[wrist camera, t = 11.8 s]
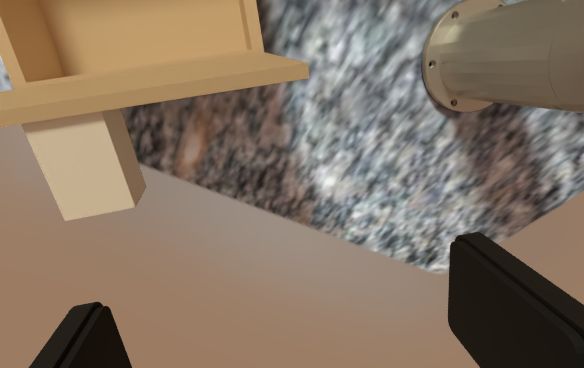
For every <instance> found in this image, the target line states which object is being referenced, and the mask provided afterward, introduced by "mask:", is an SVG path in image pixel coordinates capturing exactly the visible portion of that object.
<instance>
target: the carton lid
mask: <svg viewBox="0 0 584 368" xmlns="http://www.w3.org/2000/svg"><path fill="white" fill-rule="evenodd" d="M307 78H309V70H308V63H306V62H302V61H298V60H293V59H289V58H285V57H281V56H277V55H273V54H269V53H258V54H251V55H245V56H238V57H231V58H224V59H218V60H211V61H204V62H197V63H191V64H184V65H177V66H170V67H164V68H157V69H150V70H143V71H137V72H130V73H123V74H116V75H110V76H103V77H96V78H89V79H83V80H76V81H69V82H62V83H56V84H49V85H42V86H35V87H29V88H22V89H15V90H8V91H4V92H0V127H5V126H11V125H18V124H21V125H22V127H23V129H24V131H25V134H26V136H27V138H28V140H29V143H30V145H31V147H32V149H33V151H34V154H35V156H36V158H37V160H38V162H39V165H40V167H41V169H42V171H43V173H44V175H45V178H46V180H47V182H48V184H49V187H50V189H51V191H52V193H53V195H54V197H55V200H56V202H57V204H58V206H59V209H60V211H61V213H62V215H63V217H64V219H65V221H67V220H73V219H78V218H83V217H88V216H93V215H98V214H104V213H109V212H114V211H119V210H124V209H130V208H135V207H136V205H137V203H138V201H139V200H140V198H141V196H142V194H143V192H144V190H145V188H146V185H145V182H144V179H143V176H142V173H141V170H140V167H139V164H138V161H137V158H136V155H135V152H134V149H133V146H132V143H131V140H130V137H129V133H128V130H127V127H126V124H125V121H124V118H123V115H122V112H121V109H120V108H124V107H131V106H137V105H143V104H149V103H156V102H162V101H168V100H175V99H181V98H187V97H193V96H200V95H206V94H212V93H219V92H225V91H231V90H237V89H244V88H250V87H256V86H263V85H269V84H275V83H281V82H288V81H294V80H300V79H307Z"/></svg>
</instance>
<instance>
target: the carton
mask: <svg viewBox="0 0 584 368" xmlns="http://www.w3.org/2000/svg"><path fill="white" fill-rule="evenodd" d="M258 53H264V48H263V41H262V35H261V29H260V23H259V16H258V10H257V4H256V0H0V55H1V57H2V60H3V62H4V65H5V67H6V70H7V72H8V75H9V77H10V80H11V82H12V85H13V87H14V90H15V89H22V88H29V87H35V86H42V85H49V84H56V83H62V82H69V81H76V80H83V79H89V78H96V77H103V76H110V75H116V74H123V73H130V72H137V71H143V70H150V69H157V68H164V67H170V66H177V65H184V64H191V63H197V62H204V61H211V60H218V59H224V58H231V57H238V56H245V55H251V54H258Z"/></svg>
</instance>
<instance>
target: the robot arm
mask: <svg viewBox="0 0 584 368" xmlns="http://www.w3.org/2000/svg"><path fill="white" fill-rule="evenodd" d="M429 63H430V66H429ZM422 73H423V79H424V82H425V85H426V88H427V89H428V91H429V93H430V95H431V96H432V97H433V98H434V99H435V100H436V102H437V103H439V104H440V105H442V106H443V107H445V108H447V109H450V110H453V111H458V112H474V111H479V110H481V109H484V108H487V107H489V106H490V105H492V104H493V103H503V104H511V105H520V106H528V107H537V108H545V109H554V110H562V111H571V112H579V113H584V0H527V1H523V2H519V3H515V4H510V5H507V4H506V3H504V2H502V1H500V0H465V1H462V2H460V3H458V4H456V5H454V6H453V7H451V8H449V9H448V10H447V11H446V12H445V13H444V14H443V15H442V16H441V17H440V18H439V19H438V20H437V22H436V23H435V24H434V26H433V27H432V29H431V31H430V33H429V35H428V37H427V40H426V43H425V45H424V50H423V55H422ZM448 300H449V301H448V322H449V326H450V328H451V330H452V332H453V333H454V335H455V336H456V337H457V338H458V340H459V341H460V342H461V344H462V345H463V346H464V348H465V349H466V350H467V351H468V352H469V354H470V355H471V356H472V358H473V359H474V360H475V362H476V363H477V364H478V365H479V367H480V368H584V305H583V304H581V303H580V302H579V301H577V300H576V299H574V298H573V297H571V296H570V295H569V294H567V293H566V292H564V291H563V290H561V289H560V288H559V287H557V286H556V285H554V284H553V283H551V282H550V281H549V280H547V279H546V278H544V277H543V276H542V275H540V274H539V273H537V272H536V271H534V270H533V269H532V268H530V267H529V266H527V265H526V264H525V263H523V262H522V261H520V260H519V259H517V258H516V257H515V256H513V255H512V254H510V253H509V252H507V251H506V250H505V249H503V248H502V247H500V246H499V245H498V244H496V243H495V242H493V241H492V240H490V239H489V238H488V237H486V236H485V235H483V234H482V233H480V232H475V233H469V234H464V235H458V236H457V237H456V239H455V242H452V243H451V245H450V267H449V298H448ZM29 368H132V366H131V364H130V361H129V358H128V355H127V353H126V350H125V348H124V345H123V342H122V339H121V337H120V335H119V332H118V329H117V326H116V323H115V321H114V318H113V315H112V313H111V310H110V308H109V307H108V306H103V305H102V304H101V303H100V302H94V303H88V304H83V305H77V306H74V307H73V308H72V309H71V310H70V311H69V313H68V314H67V315H66V317H65V318H64V319H63V321H62V322H61V324H60V325H59V326H58V328H57V329H56V330H55V332H54V333H53V335H52V336H51V338H50V339H49V340H48V342H47V343H46V344H45V346H44V347H43V349H42V350H41V351H40V353H39V354H38V356H37V357H36V358H35V360H34V361H33V363H32V364H31V365H30V367H29Z"/></svg>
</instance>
